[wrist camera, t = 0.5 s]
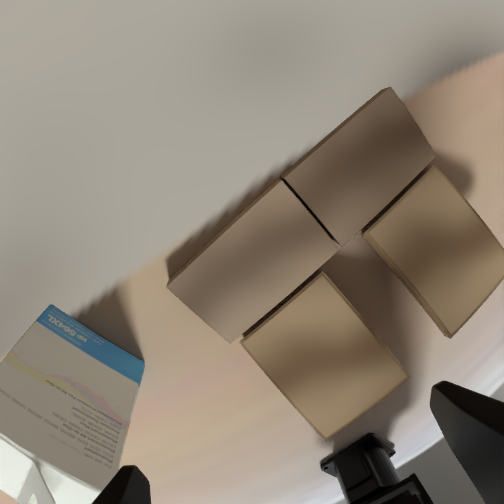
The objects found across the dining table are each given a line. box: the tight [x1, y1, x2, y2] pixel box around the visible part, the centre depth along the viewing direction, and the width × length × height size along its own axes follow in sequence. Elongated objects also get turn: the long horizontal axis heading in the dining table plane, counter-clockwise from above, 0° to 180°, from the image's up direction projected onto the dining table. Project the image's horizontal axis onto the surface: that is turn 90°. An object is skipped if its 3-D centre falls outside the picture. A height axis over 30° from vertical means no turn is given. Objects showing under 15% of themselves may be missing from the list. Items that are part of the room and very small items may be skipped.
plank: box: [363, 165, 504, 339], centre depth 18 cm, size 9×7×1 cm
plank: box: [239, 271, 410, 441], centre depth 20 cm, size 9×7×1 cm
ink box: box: [0, 305, 145, 504], centre depth 15 cm, size 9×8×13 cm
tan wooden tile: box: [167, 87, 436, 343], centre depth 19 cm, size 6×18×1 cm, turn 132°
